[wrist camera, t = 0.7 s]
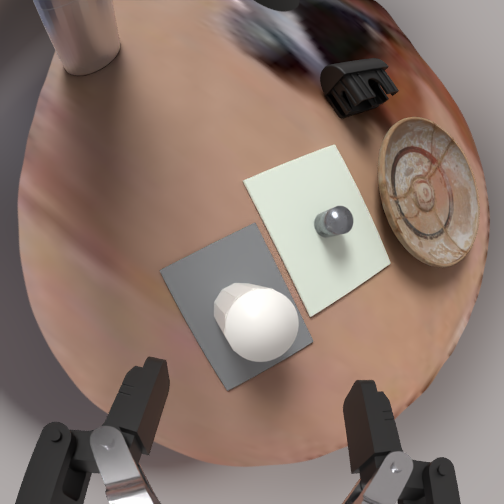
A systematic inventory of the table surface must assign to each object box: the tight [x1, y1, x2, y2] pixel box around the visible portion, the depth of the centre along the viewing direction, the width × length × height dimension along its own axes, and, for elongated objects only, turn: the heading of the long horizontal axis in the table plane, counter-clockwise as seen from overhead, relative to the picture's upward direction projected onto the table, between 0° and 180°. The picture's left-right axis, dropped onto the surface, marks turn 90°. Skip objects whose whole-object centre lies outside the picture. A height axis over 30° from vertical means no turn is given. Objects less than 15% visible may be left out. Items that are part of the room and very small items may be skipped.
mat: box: [160, 223, 313, 391], centre depth 33 cm, size 16×12×1 cm
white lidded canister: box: [214, 283, 299, 362], centre depth 28 cm, size 6×6×10 cm
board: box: [243, 144, 390, 317], centre depth 36 cm, size 18×14×1 cm
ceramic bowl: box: [378, 117, 480, 267], centre depth 38 cm, size 23×24×5 cm
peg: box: [314, 206, 353, 238], centre depth 33 cm, size 3×3×4 cm
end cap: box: [320, 58, 398, 118], centre depth 35 cm, size 10×7×7 cm
